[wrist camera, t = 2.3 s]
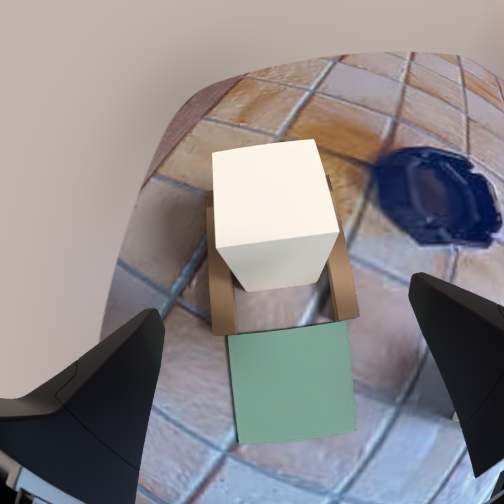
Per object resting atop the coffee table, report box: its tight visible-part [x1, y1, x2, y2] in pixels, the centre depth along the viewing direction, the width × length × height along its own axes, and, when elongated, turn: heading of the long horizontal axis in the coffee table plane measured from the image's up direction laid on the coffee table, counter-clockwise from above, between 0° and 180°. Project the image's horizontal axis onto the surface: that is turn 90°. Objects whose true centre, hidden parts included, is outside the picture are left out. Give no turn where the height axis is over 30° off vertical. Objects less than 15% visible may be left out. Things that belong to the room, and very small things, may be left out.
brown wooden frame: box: [206, 175, 360, 336], centre depth 21 cm, size 12×11×2 cm
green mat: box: [228, 321, 356, 445], centre depth 18 cm, size 9×9×1 cm
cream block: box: [213, 139, 340, 292], centre depth 17 cm, size 6×6×10 cm
